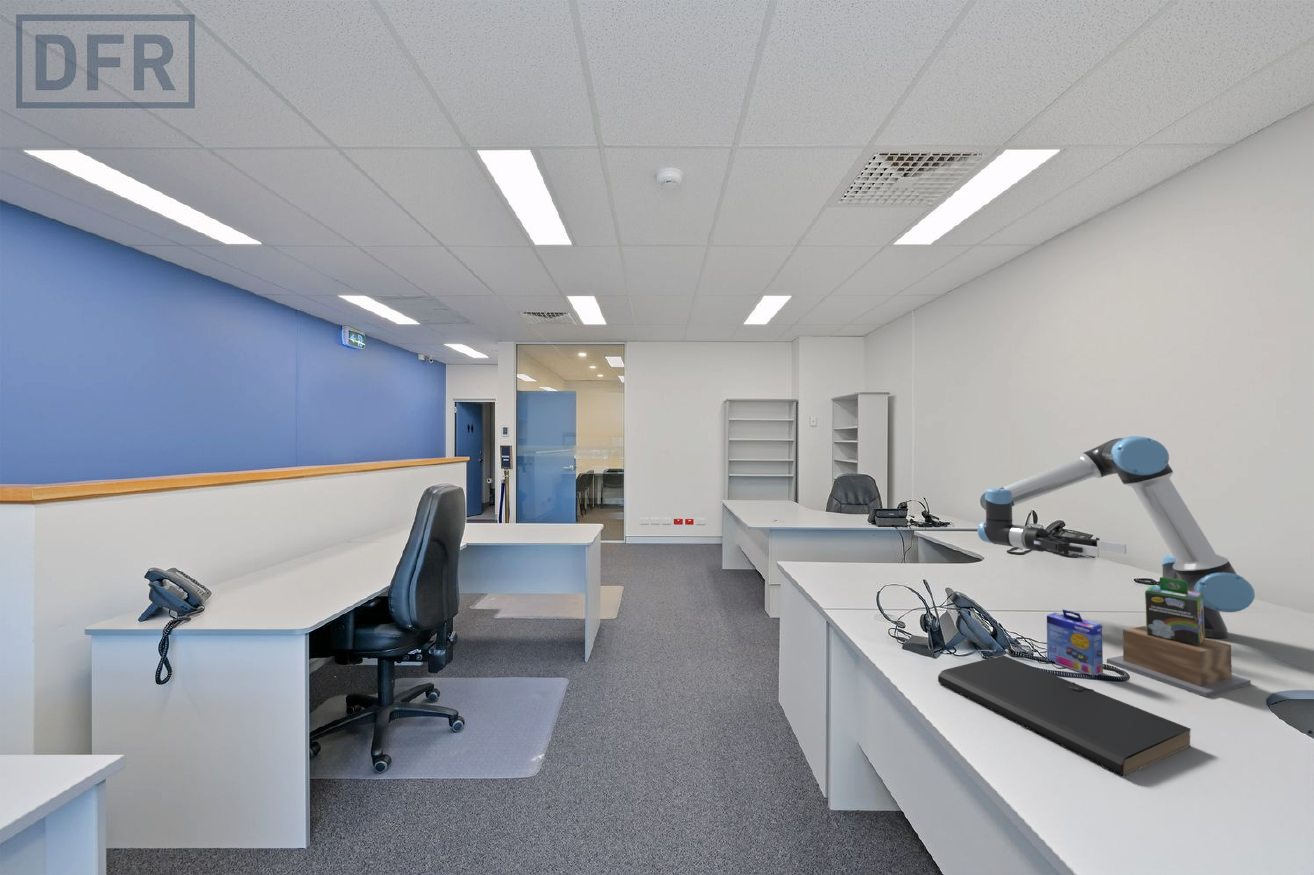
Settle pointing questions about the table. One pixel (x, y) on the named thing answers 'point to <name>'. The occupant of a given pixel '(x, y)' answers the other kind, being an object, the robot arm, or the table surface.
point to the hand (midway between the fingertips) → (1112, 550)
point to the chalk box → (1175, 612)
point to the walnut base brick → (1178, 657)
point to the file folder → (1069, 713)
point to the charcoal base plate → (1203, 690)
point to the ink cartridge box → (1075, 643)
